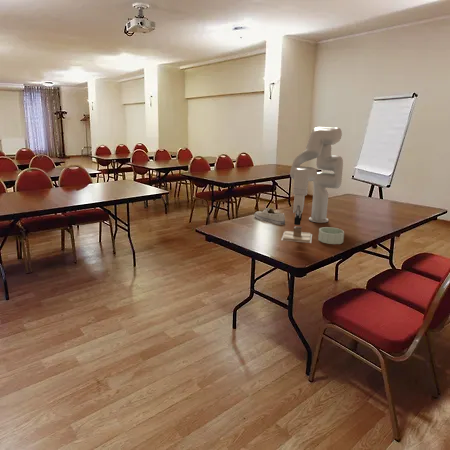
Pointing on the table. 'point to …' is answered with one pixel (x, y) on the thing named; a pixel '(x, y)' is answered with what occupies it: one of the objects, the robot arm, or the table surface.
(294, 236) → the lid
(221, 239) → the table surface
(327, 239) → the bowl
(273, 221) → the boat shoe
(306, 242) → the mat
